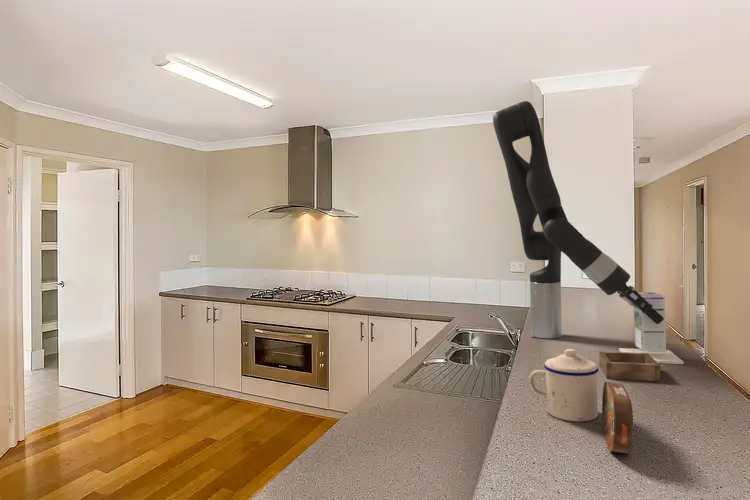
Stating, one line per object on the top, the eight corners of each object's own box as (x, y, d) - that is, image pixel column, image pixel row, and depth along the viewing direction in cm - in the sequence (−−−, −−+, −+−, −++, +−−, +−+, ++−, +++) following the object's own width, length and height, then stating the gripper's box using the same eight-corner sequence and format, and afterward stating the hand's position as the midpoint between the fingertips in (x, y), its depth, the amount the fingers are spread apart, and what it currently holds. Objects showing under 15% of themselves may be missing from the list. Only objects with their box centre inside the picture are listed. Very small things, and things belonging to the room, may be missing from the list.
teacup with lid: (600, 408, 87) (599, 346, 87) (597, 426, 79) (596, 358, 79) (533, 399, 93) (532, 341, 93) (524, 415, 85) (523, 352, 85)
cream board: (628, 361, 117) (628, 359, 117) (619, 350, 128) (619, 348, 128) (683, 364, 113) (683, 361, 113) (669, 352, 125) (669, 349, 125)
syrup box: (667, 352, 117) (666, 294, 117) (641, 351, 118) (640, 294, 118) (658, 347, 123) (657, 291, 123) (633, 346, 124) (633, 291, 124)
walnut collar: (606, 378, 105) (606, 362, 105) (599, 365, 115) (599, 351, 115) (660, 381, 101) (659, 365, 101) (647, 367, 111) (647, 353, 111)
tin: (600, 422, 81) (599, 374, 81) (621, 424, 80) (620, 375, 80) (611, 462, 67) (610, 404, 67) (636, 465, 66) (635, 406, 66)
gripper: (622, 264, 116) (678, 313, 112) (611, 261, 129) (660, 305, 126) (599, 286, 117) (653, 335, 114) (590, 280, 131) (638, 324, 128)
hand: (656, 319), depth 120 cm, fingers closed on syrup box, 6 cm apart
